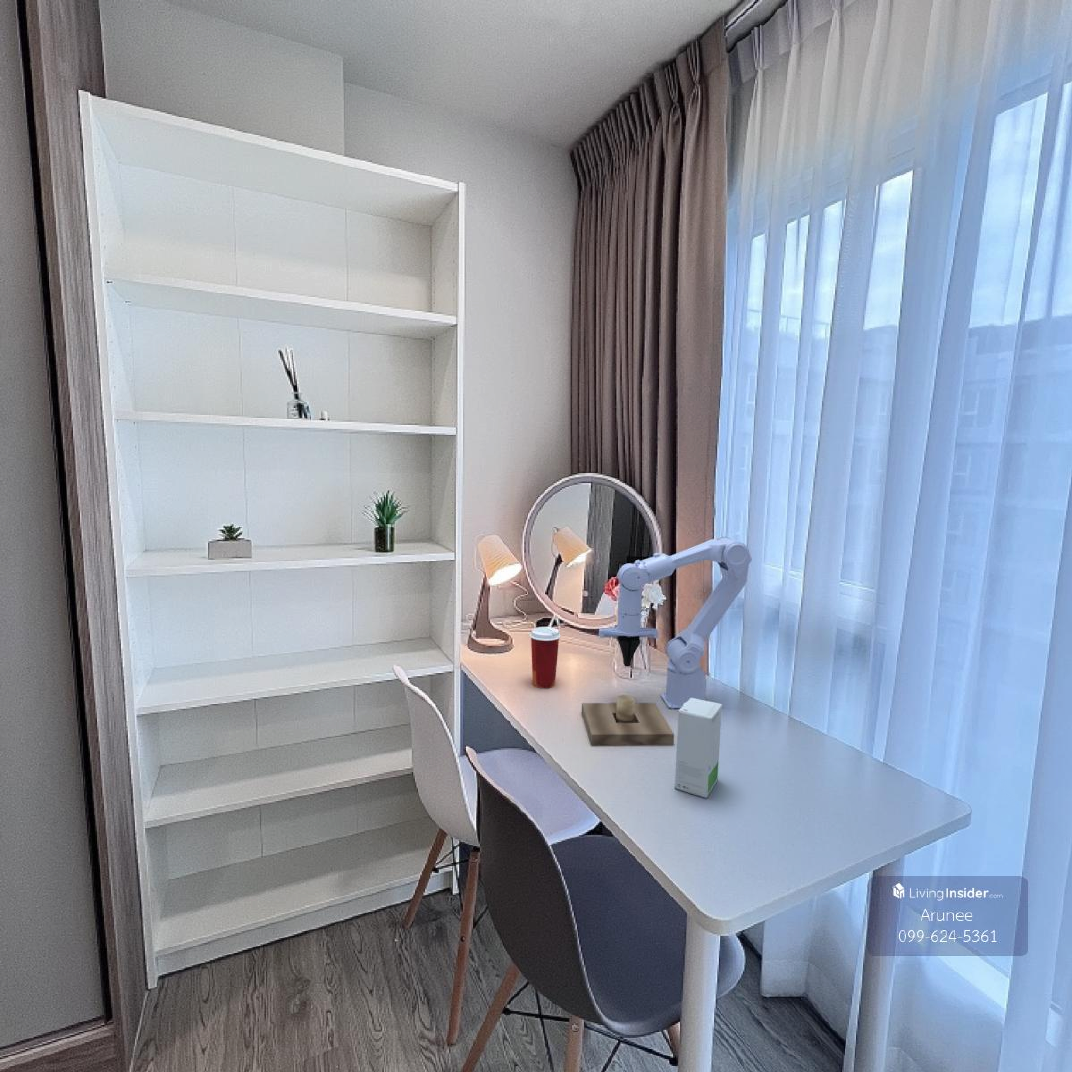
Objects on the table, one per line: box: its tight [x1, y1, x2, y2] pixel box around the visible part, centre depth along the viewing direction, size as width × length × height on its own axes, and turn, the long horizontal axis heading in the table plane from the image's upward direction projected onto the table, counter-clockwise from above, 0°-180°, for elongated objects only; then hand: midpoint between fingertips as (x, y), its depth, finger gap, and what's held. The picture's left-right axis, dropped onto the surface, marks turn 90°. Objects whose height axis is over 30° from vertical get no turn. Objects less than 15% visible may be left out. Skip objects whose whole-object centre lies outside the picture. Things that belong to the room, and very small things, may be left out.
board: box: [581, 702, 675, 747], centre depth 136 cm, size 18×16×2 cm
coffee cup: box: [529, 626, 561, 689], centre depth 160 cm, size 8×8×15 cm
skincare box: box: [674, 698, 723, 799], centre depth 113 cm, size 8×7×16 cm
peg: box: [616, 694, 636, 723], centre depth 136 cm, size 4×4×7 cm
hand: (626, 664), depth 148 cm, fingers closed
